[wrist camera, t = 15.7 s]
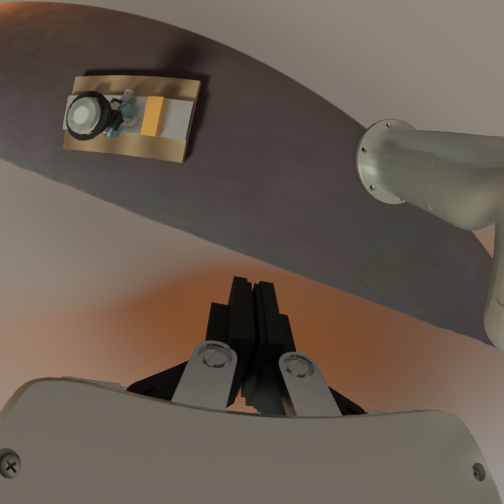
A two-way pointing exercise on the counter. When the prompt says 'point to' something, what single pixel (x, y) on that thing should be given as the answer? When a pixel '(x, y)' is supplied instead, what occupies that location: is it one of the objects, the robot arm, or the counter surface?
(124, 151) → the din panel
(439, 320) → the counter surface
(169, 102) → the din rail
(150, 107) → the end stops
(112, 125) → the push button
